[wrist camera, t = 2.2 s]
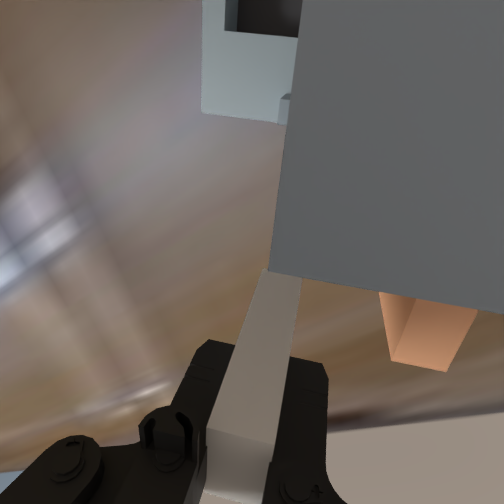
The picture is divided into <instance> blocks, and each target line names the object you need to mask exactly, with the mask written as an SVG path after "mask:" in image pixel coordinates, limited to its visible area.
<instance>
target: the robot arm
mask: <svg viewBox="0 0 504 504" xmlns="http://www.w3.org/2000/svg"><path fill="white" fill-rule="evenodd" d="M302 279H303V278H301V277H296V276H290V275H285V274H279V273H274V272H268V269H265V268H263V270H262V272H261V275H260V278H259V281H258V284H257V286H256V289H255V292H254V295H253V298H252V300H251V303H250V306H249V309H248V312H247V315H246V317H245V320H244V323H243V326H242V329H241V331H240V334H239V337H238V340H237V343H236V345H232V344H228V343H223V342H219V341H215V340H210V339H209V340H207V341H206V342H205V343H204V344H203V345H202V346H201V347H199V348H198V349H197V350H196V353H195V355H194V357H193V359H192V361H191V363H190V366H189V367H188V369H187V371H186V373H185V376H184V378H183V380H182V382H181V384H180V386H179V388H178V390H177V392H176V394H175V396H174V398H173V400H172V403H171V405H170V406H165V407H161V408H157V409H155V410H154V411H152V412H151V413H149V414H148V415H146V416H145V417H144V419H143V420H142V421H141V423H140V424H139V425H138V427H139V435H140V442H137V443H134V444H129V445H122V446H109V447H99V445H98V444H97V443H96V442H95V441H94V439H93V438H90V437H87V436H84V435H75V436H69V437H66V438H64V439H61V440H59V441H57V442H56V443H54V444H53V445H52V446H50V447H49V448H48V449H46V450H45V451H44V452H43V453H42V454H41V455H40V456H39V457H38V458H37V459H36V460H35V461H34V462H33V463H32V464H31V465H30V466H29V467H28V468H27V469H26V470H25V471H23V472H22V473H21V474H20V475H19V476H18V477H17V478H16V479H15V480H14V481H13V482H12V483H11V484H10V485H9V486H8V487H7V488H6V489H5V490H4V491H3V492H2V493H1V494H0V504H199V501H200V498H201V495H202V492H203V489H204V492H205V493H208V494H212V495H215V496H219V497H222V498H225V499H229V500H233V501H236V502H239V503H243V504H347V503H346V502H344V501H343V500H342V499H341V498H340V497H339V495H338V494H337V493H336V492H335V490H334V489H333V487H332V485H331V483H330V481H329V479H328V475H327V472H326V463H325V462H326V436H327V408H328V381H329V379H328V376H327V374H326V372H325V369H324V367H323V365H322V363H317V362H313V361H308V360H304V359H299V358H295V357H290V351H291V345H292V339H293V333H294V327H295V321H296V315H297V309H298V303H299V297H300V291H301V285H302Z"/></svg>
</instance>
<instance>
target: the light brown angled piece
mask: <svg viewBox="0 0 504 504" xmlns="http://www.w3.org/2000/svg"><path fill="white" fill-rule="evenodd" d="M379 296H380V301H381V307H382V312H383V318H384V323H385V329H386V334H387V340H388V345H389V351H390V356H391V361H396V362H400V363H405V364H410V365H415V366H420V367H425V368H430V369H434V370H439V371H444V372H446V371H447V369H448V367H449V365H450V363H451V362H452V360H453V358H454V356H455V354H456V352H457V350H458V348H459V347H460V345H461V343H462V341H463V339H464V337H465V335H466V333H467V331H468V330H469V328H470V326H471V324H472V322H473V320H474V318H475V316H476V315H477V313H478V311H479V310H477V309H471V308H466V307H460V306H455V305H449V304H444V303H438V302H433V301H427V300H422V299H416V298H411V297H405V296H400V295H395V294H389V293H384V292H379Z"/></svg>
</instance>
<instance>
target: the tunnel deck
mask: <svg viewBox="0 0 504 504" xmlns="http://www.w3.org/2000/svg"><path fill="white" fill-rule="evenodd" d="M201 113H205V114H213V115H221V116H229V117H237V118H245V119H253V120H260V121H268V122H276V123H277V124H278V125H286V126H287V127H286V135H285V142H284V150H283V158H282V166H281V173H280V181H279V189H278V197H277V204H276V212H275V220H274V228H273V235H272V243H271V251H270V259H269V266H268V272H274V273H279V274H285V275H290V276H296V277H301V278H307V279H312V280H318V281H323V282H329V283H334V284H340V285H345V286H351V287H356V288H362V289H367V290H373V291H378V292H384V293H389V294H395V295H400V296H405V297H411V298H416V299H422V300H427V301H433V302H438V303H444V304H449V305H455V306H460V307H466V308H471V309H477V310H482V311H488V312H493V313H499V314H504V0H202V89H201Z"/></svg>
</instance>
